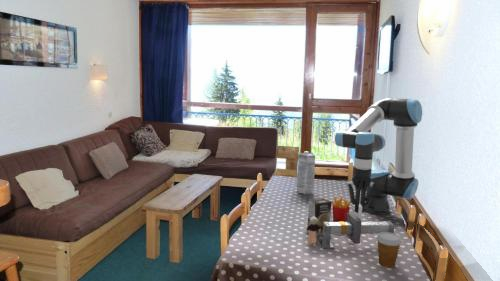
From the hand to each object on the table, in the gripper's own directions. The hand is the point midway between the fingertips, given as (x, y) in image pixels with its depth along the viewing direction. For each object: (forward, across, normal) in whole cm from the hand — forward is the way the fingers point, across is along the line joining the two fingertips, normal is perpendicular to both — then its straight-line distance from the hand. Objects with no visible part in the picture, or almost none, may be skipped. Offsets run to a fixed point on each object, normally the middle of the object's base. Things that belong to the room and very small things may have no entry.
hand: (358, 219), depth 177 cm
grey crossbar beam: (+12, 0, 0) cm, 12 cm away
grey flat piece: (+9, +2, 0) cm, 9 cm away
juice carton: (+12, +3, -80) cm, 81 cm away
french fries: (+12, 0, -23) cm, 26 cm away
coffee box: (+12, +14, -14) cm, 23 cm away
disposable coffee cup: (+12, -5, +19) cm, 23 cm away
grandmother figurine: (+12, +20, -2) cm, 23 cm away
